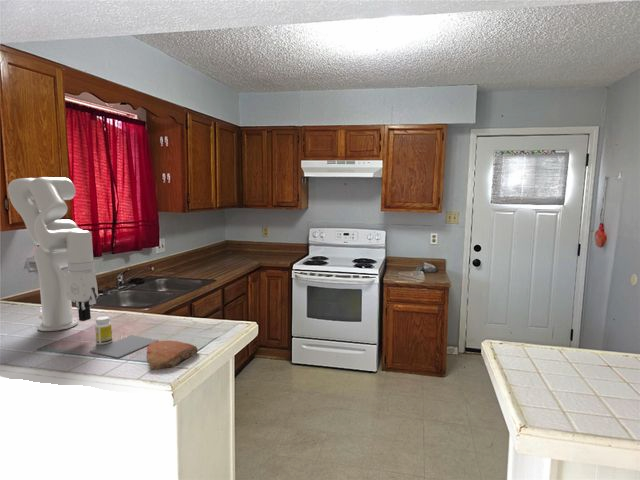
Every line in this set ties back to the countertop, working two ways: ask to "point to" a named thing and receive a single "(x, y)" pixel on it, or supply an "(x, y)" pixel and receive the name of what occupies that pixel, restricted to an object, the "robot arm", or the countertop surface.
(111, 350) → the mat
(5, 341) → the countertop surface
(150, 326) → the countertop surface
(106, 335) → the supplement bottle
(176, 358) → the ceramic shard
